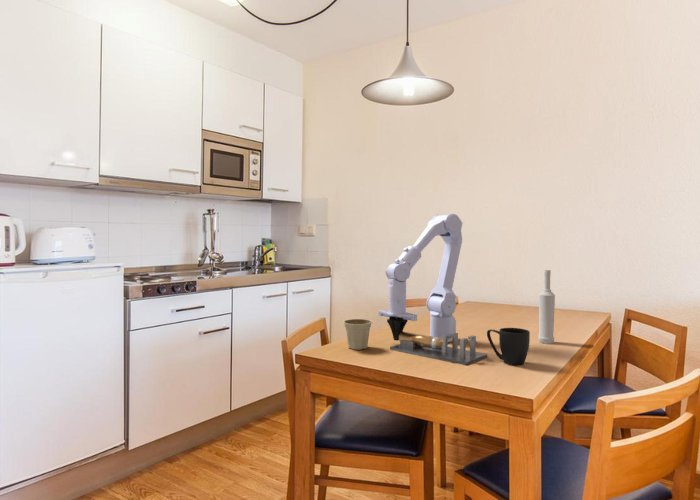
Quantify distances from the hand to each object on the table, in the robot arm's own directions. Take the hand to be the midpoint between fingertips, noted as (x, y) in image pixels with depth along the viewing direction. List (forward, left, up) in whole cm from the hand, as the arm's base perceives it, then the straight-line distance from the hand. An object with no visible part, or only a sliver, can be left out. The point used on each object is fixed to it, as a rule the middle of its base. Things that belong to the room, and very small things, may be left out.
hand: (397, 339), depth 156 cm
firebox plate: (0, +15, -2) cm, 16 cm away
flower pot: (+12, -7, -2) cm, 14 cm away
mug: (-5, +36, -2) cm, 36 cm away
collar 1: (0, +20, -2) cm, 20 cm away
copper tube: (0, +10, -1) cm, 10 cm away
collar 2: (0, +26, -2) cm, 26 cm away
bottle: (-39, +35, -2) cm, 52 cm away
